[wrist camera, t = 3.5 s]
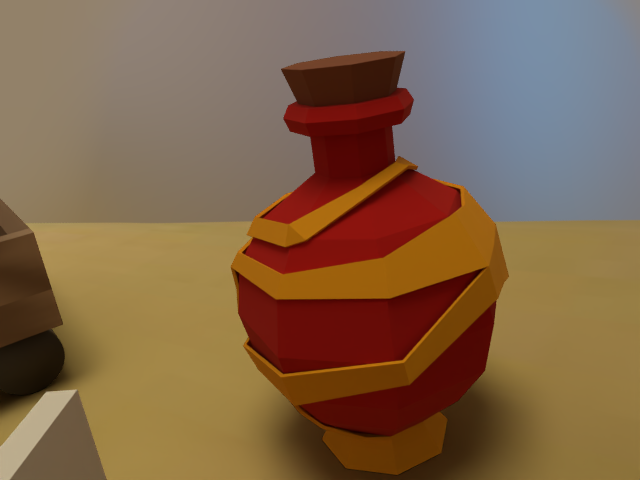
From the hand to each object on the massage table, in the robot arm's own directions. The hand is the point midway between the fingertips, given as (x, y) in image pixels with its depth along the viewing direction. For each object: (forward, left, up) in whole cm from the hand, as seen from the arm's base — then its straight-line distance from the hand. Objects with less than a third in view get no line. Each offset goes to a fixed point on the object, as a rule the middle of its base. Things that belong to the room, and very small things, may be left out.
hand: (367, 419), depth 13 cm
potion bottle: (-6, -7, -8) cm, 13 cm away
